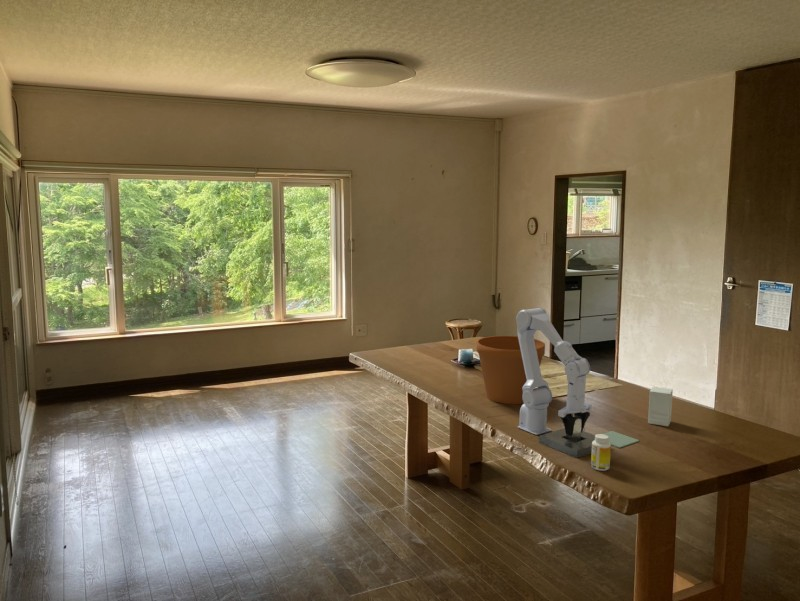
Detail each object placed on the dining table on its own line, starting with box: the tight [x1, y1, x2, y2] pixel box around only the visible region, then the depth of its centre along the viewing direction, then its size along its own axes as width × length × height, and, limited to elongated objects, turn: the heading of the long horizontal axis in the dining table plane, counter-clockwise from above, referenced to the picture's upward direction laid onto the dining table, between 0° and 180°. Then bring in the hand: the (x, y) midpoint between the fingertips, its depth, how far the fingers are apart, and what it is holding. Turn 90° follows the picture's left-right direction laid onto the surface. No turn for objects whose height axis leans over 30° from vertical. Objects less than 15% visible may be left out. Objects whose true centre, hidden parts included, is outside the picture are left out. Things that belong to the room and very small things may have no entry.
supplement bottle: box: [590, 433, 612, 472], centre depth 192 cm, size 6×6×10 cm
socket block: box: [538, 427, 609, 459], centre depth 211 cm, size 16×16×2 cm
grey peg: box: [567, 415, 582, 442], centre depth 210 cm, size 4×4×9 cm
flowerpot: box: [476, 335, 546, 405], centre depth 262 cm, size 28×28×24 cm
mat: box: [603, 430, 640, 449], centre depth 216 cm, size 11×11×1 cm
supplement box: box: [647, 386, 674, 427], centre depth 233 cm, size 7×7×13 cm
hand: (573, 433), depth 211 cm, fingers closed on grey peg, 4 cm apart
